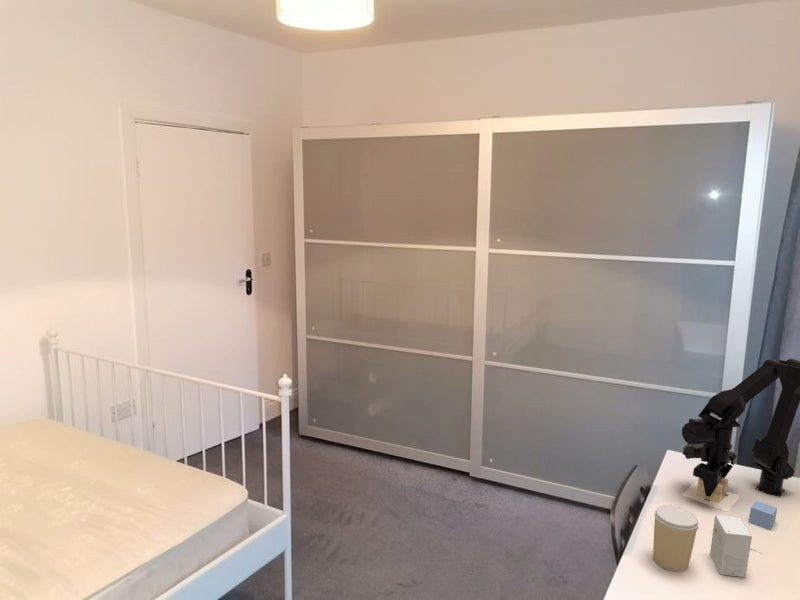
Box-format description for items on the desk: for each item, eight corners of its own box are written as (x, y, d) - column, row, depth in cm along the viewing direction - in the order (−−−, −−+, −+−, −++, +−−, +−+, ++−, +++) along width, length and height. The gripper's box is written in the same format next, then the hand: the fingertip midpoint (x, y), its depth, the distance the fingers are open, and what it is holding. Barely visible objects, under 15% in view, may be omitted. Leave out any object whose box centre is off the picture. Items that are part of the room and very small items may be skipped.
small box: (745, 578, 138) (752, 536, 135) (719, 574, 139) (725, 533, 137) (734, 557, 145) (740, 517, 143) (709, 554, 146) (715, 514, 144)
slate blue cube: (753, 517, 163) (756, 500, 162) (774, 525, 160) (777, 507, 159) (748, 524, 160) (750, 507, 159) (769, 532, 156) (772, 515, 155)
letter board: (695, 482, 181) (696, 480, 181) (740, 497, 173) (740, 496, 173) (681, 496, 173) (681, 494, 172) (727, 513, 164) (727, 511, 164)
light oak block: (703, 487, 177) (705, 472, 176) (725, 495, 173) (728, 479, 172) (696, 495, 173) (698, 479, 172) (719, 503, 169) (721, 486, 168)
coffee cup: (692, 556, 145) (698, 510, 143) (692, 578, 137) (699, 530, 134) (650, 545, 149) (656, 500, 147) (648, 566, 141) (654, 519, 138)
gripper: (699, 423, 181) (693, 471, 185) (677, 441, 168) (670, 493, 171) (740, 434, 174) (733, 485, 177) (720, 454, 161) (712, 508, 164)
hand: (711, 492), depth 172 cm, fingers closed on light oak block, 6 cm apart
